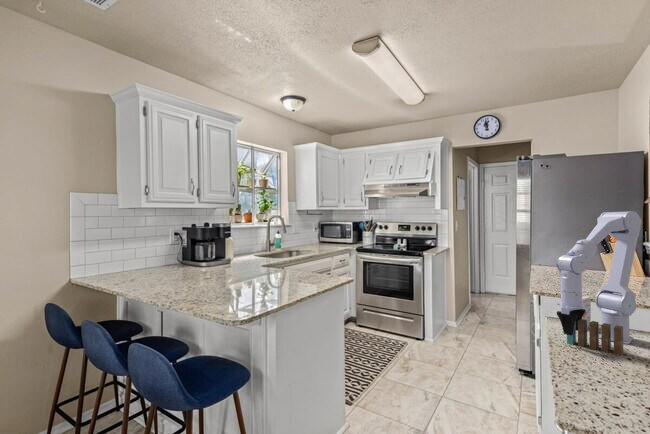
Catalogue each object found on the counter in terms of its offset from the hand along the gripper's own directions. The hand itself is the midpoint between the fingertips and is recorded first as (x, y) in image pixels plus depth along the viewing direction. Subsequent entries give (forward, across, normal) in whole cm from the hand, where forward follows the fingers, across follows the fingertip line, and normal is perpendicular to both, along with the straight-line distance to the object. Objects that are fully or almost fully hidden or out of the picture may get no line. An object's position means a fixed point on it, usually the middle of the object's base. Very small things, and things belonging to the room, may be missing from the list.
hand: (571, 332), depth 113 cm
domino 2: (+3, 0, +3) cm, 5 cm away
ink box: (+4, -24, -3) cm, 24 cm away
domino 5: (+3, 0, +12) cm, 12 cm away
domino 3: (+3, 0, +6) cm, 7 cm away
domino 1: (+3, 0, 0) cm, 3 cm away
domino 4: (+3, 0, +9) cm, 10 cm away
